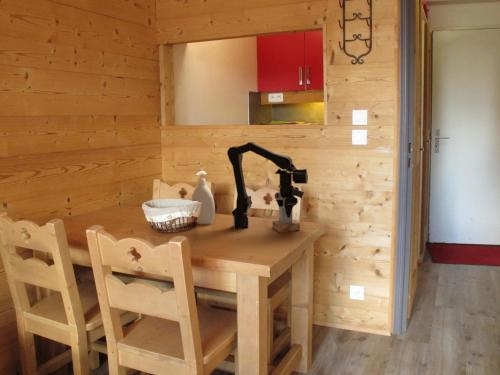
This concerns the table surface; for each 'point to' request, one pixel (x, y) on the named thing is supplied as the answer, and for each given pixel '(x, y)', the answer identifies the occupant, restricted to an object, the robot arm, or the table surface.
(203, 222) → the soap bottle
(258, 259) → the table surface
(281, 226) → the walnut block
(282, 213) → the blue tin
